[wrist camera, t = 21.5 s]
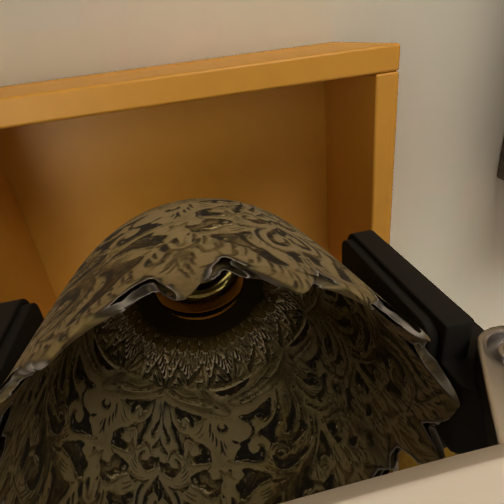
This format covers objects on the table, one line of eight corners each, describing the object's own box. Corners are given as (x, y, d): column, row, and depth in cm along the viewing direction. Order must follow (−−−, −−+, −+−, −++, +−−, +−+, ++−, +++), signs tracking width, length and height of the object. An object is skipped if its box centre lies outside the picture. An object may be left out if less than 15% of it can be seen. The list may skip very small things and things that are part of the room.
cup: (111, 93, 11) (22, 201, 4) (344, 188, 13) (552, 357, 6) (45, 321, 13) (-78, 637, 6) (251, 363, 16) (325, 619, 9)
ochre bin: (-42, 92, 12) (-129, 116, 8) (334, 41, 13) (401, 42, 9) (81, 379, 17) (60, 470, 13) (338, 321, 18) (382, 389, 15)
